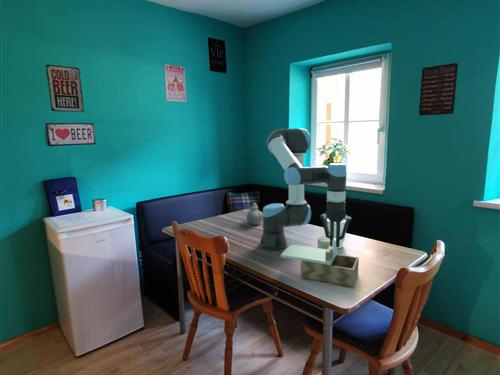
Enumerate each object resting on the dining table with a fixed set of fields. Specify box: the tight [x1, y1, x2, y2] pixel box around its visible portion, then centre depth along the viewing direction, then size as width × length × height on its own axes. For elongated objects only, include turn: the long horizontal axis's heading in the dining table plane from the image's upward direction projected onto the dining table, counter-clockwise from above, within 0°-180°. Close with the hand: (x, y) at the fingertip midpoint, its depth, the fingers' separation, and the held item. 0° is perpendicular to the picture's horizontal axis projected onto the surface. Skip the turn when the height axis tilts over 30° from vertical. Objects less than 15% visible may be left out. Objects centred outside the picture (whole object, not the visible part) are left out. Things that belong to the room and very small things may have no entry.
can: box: [317, 235, 335, 249], centre depth 154 cm, size 9×9×12 cm
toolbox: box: [300, 253, 360, 289], centre depth 138 cm, size 22×14×8 cm, turn 64°
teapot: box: [246, 202, 263, 226], centre depth 219 cm, size 21×12×15 cm, turn 179°
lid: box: [280, 244, 338, 265], centre depth 141 cm, size 22×14×5 cm, turn 64°
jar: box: [326, 218, 347, 249], centre depth 174 cm, size 11×10×15 cm
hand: (334, 253), depth 136 cm, fingers closed
